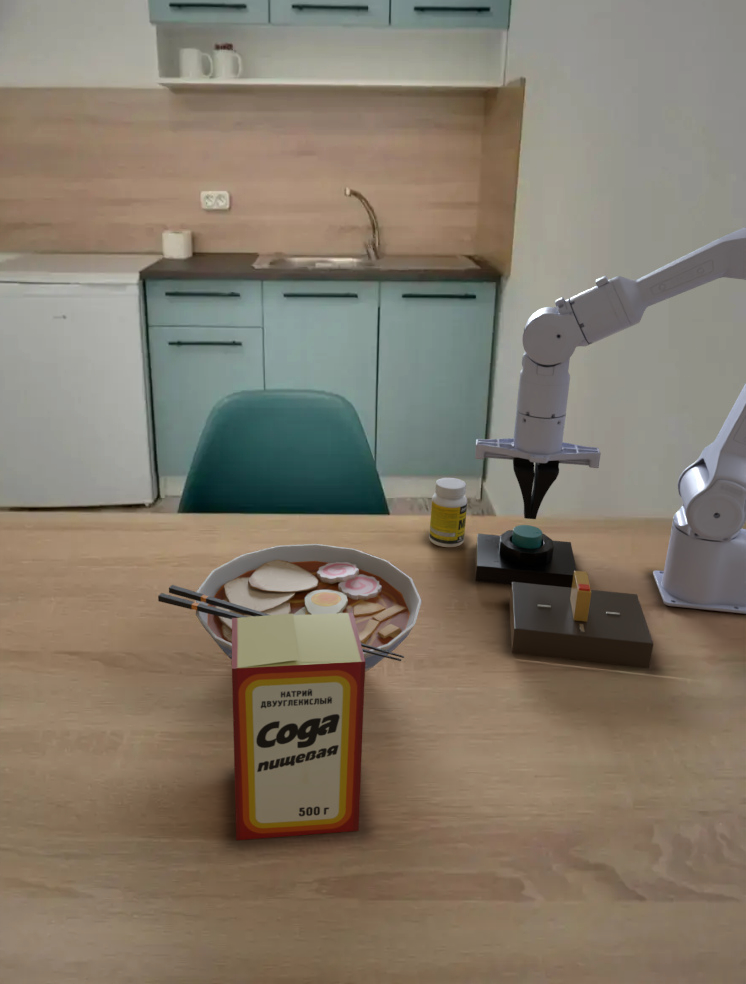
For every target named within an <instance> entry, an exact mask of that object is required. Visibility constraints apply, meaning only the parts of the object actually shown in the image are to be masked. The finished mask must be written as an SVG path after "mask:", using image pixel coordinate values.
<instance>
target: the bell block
mask: <svg viewBox="0 0 746 984" xmlns="http://www.w3.org/2000/svg"><path fill="white" fill-rule="evenodd" d="M476 536H477V537H476V544H475V545H476V546H475V576H474V578H475V582H477V583H478V582H479V583H489V584H498V585H508V586H511V585H512V582H519V583H529V584H539V585H549V586H559V587H569V588H572V582H573V574H574V571H578V570H577V567H576V561H575V556H574V551H573V546H572V542H571V541H564V540H563V541H562V540H553V539H552V538H551V537H549V536H547V535H546V534H545V533H543V534H542V542H541V547H540V548H534V549H528V548H521V547H519V546H516V545H514V544H513V543H512V536H513V529H509V530H506V531H504V532H503V533H501V534H499V535H497V534H486V533H477V535H476Z"/></svg>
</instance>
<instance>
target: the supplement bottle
mask: <svg viewBox="0 0 746 984" xmlns="http://www.w3.org/2000/svg"><path fill="white" fill-rule="evenodd" d="M466 493H467V483H466V482H465V481H464V480H462V479H460V478H456V477H441V478H439V479H437V480H436V481H435V487H434V493H433V495H432V496H431V504H430V505H431V506H430V519H429V531H428V539H429V541H430V542H431V543H432V544H433V545H435V546H438V547H442V548H456V547H459V546H461V545H462V544H463V543H464V541H465V533H466V522H467V521H466V520H467V509H468V498H467V496H466Z"/></svg>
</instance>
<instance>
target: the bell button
mask: <svg viewBox="0 0 746 984" xmlns="http://www.w3.org/2000/svg"><path fill="white" fill-rule="evenodd" d="M512 530H513V536H512V543H513V544H514V545H516V546H519V547H521V548H528V549H534V548H540V547H541V542H542V534H544V533H543V531H542V529H540V528H539V527H536V526H533V525H530V524H519V525H516V526H514V527H513V528H512Z"/></svg>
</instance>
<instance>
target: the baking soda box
mask: <svg viewBox="0 0 746 984" xmlns="http://www.w3.org/2000/svg"><path fill="white" fill-rule="evenodd" d="M231 677H232V678H231V684H232V685H231V687H232V688H231V690H232V691H231V692H232V722H233V723H232V724H233V726H232V728H233V763H234V765H233V766H234V769H233V770H234V801H235V802H234V803H235V805H234V807H235V839H236V841H244V840H259V839H270V838H271V839H272V838H283V837H296V836H297V837H299V836H308V835H321V834H335V833H346V832H347V833H348V832H359V828H360V827H359V826H360V805H361V804H360V803H361V802H360V801H361V782H362V781H361V780H362V779H361V778H362V755H363V753H362V752H363V732H364V708H365V706H364V705H365V683H366V682H365V681H366V672H365V658H364V654H363V650H362V646H361V642H360V638H359V634H358V630H357V626H356V623H355V619H354V615H353V613H333V614H312V615H293V614H281V615H267V616H254V617H241V618H232V660H231Z"/></svg>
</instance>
